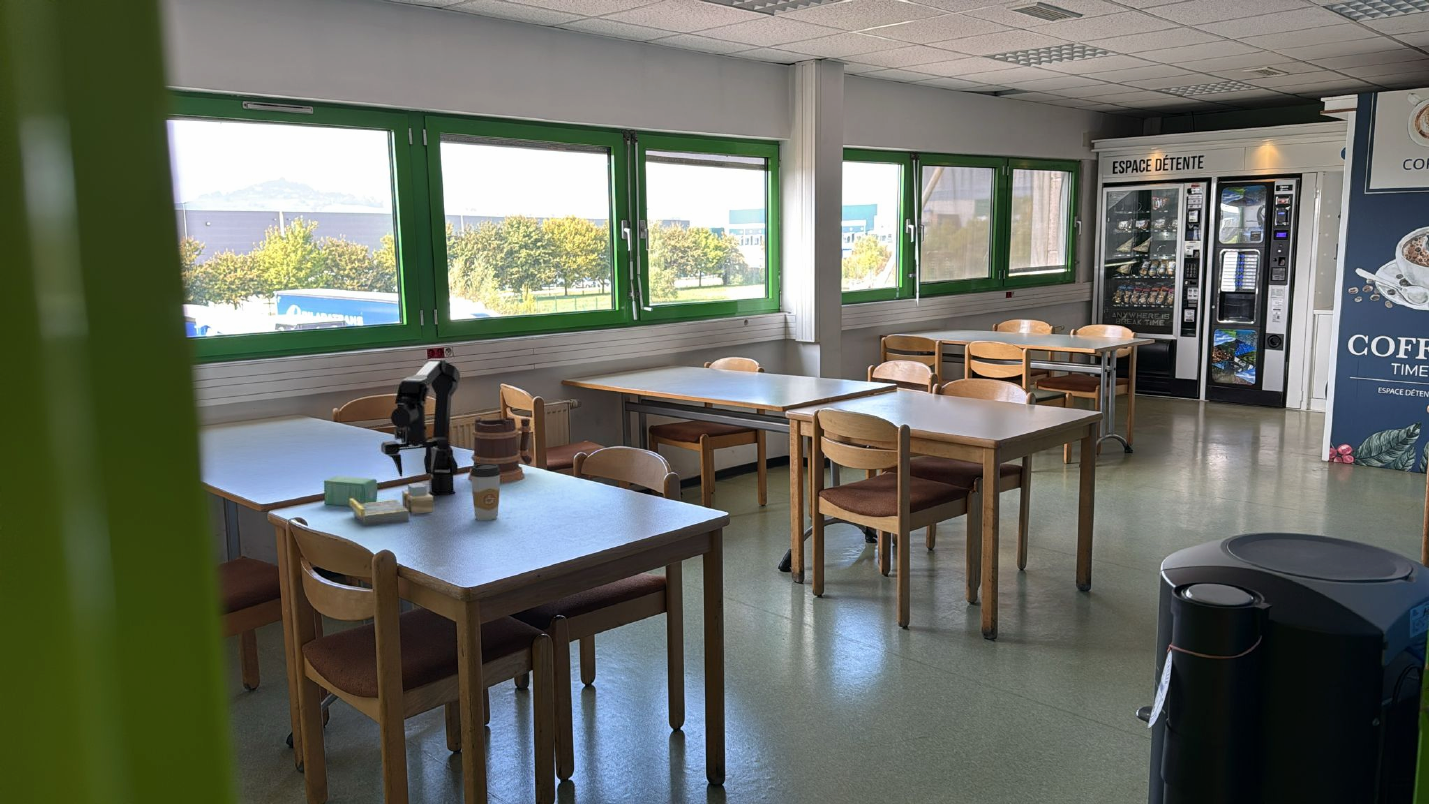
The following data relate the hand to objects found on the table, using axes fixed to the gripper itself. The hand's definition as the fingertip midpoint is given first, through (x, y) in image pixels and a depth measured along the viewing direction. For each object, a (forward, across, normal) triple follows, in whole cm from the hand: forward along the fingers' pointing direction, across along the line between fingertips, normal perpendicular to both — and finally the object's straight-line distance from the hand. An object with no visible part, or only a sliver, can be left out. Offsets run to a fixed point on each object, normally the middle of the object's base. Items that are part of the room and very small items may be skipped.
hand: (416, 474), depth 306 cm
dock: (+10, +12, +6) cm, 17 cm away
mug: (+10, -36, -29) cm, 47 cm away
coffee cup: (+10, -14, +20) cm, 27 cm away
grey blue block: (+6, 0, 0) cm, 6 cm away
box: (+10, +16, -16) cm, 24 cm away
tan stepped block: (+10, 0, 0) cm, 10 cm away
